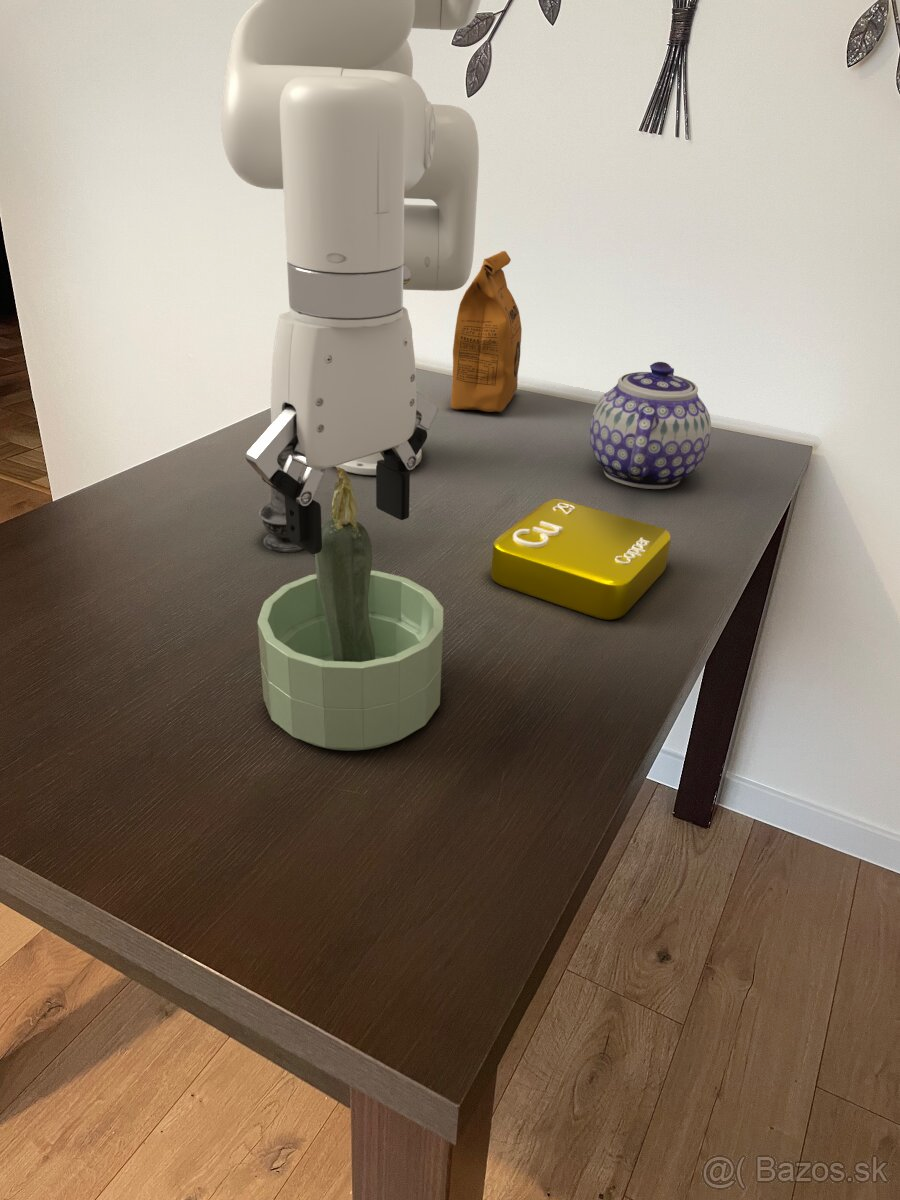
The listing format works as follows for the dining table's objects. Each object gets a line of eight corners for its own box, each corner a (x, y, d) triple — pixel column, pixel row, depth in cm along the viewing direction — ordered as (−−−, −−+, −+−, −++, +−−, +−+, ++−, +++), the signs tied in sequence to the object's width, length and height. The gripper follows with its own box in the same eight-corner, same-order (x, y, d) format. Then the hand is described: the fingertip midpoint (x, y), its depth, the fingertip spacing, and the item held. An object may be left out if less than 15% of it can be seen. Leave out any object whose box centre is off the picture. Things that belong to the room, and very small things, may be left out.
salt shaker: (324, 536, 103) (321, 435, 97) (295, 558, 99) (290, 453, 92) (280, 524, 105) (274, 424, 99) (250, 545, 101) (241, 442, 94)
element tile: (616, 626, 89) (623, 583, 87) (483, 581, 96) (486, 540, 94) (670, 565, 101) (678, 526, 98) (548, 529, 107) (552, 491, 105)
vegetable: (369, 711, 75) (358, 489, 65) (318, 704, 76) (299, 483, 65) (383, 679, 79) (375, 464, 68) (335, 673, 80) (319, 459, 69)
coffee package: (526, 396, 148) (538, 252, 136) (503, 420, 138) (514, 267, 126) (468, 387, 151) (475, 245, 139) (441, 410, 141) (446, 259, 129)
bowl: (231, 695, 78) (222, 609, 73) (363, 632, 87) (362, 553, 82) (340, 783, 69) (338, 692, 65) (475, 703, 78) (480, 618, 74)
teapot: (687, 523, 110) (711, 402, 102) (563, 499, 114) (576, 381, 106) (712, 451, 130) (733, 345, 123) (605, 433, 135) (619, 330, 127)
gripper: (405, 266, 68) (402, 484, 77) (199, 298, 57) (223, 547, 67) (478, 285, 64) (466, 514, 73) (270, 323, 53) (286, 586, 62)
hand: (350, 528), depth 70 cm, fingers open, 7 cm apart
